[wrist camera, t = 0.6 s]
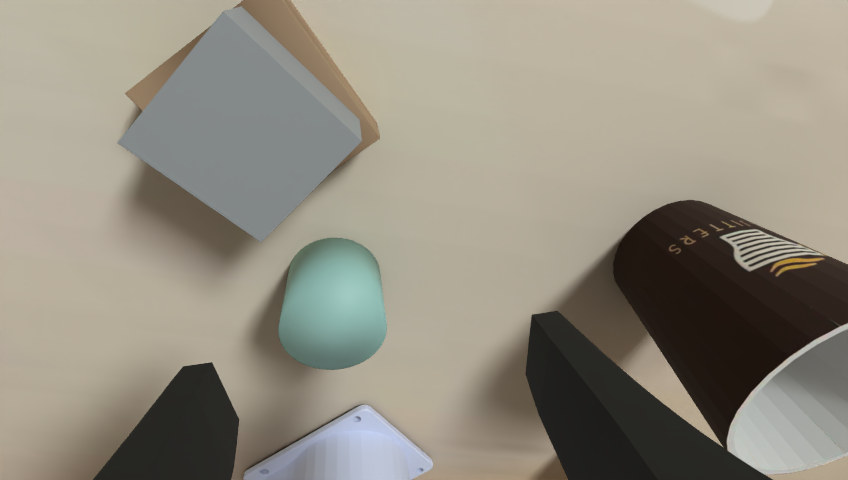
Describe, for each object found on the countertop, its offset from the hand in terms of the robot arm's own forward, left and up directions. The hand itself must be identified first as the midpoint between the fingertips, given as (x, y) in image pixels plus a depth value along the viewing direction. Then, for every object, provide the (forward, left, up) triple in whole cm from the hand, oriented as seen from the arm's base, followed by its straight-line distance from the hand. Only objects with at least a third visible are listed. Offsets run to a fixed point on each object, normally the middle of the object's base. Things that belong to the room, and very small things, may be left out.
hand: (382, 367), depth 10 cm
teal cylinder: (-4, -3, -11) cm, 12 cm away
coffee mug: (+12, -14, -11) cm, 22 cm away
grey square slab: (-1, +5, -9) cm, 10 cm away
